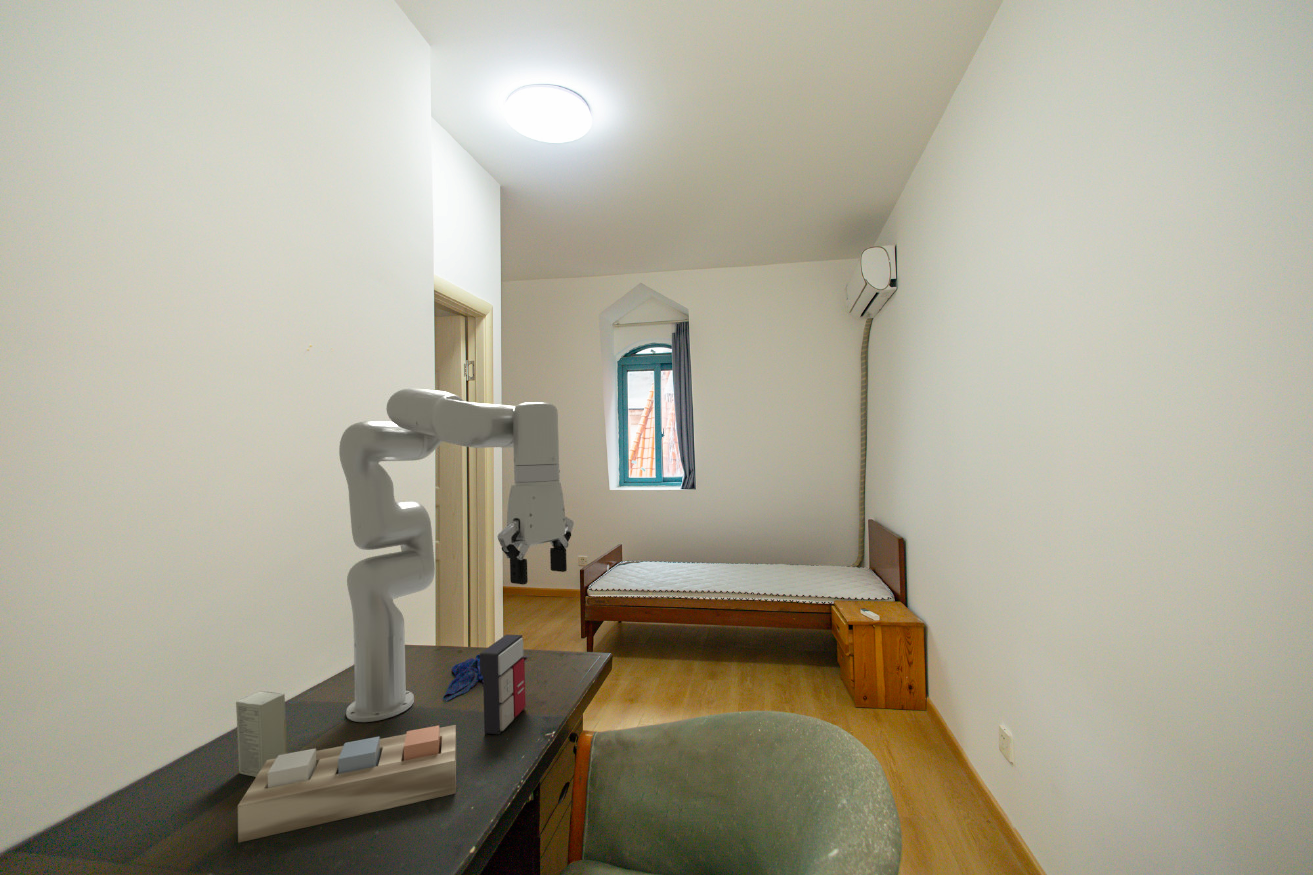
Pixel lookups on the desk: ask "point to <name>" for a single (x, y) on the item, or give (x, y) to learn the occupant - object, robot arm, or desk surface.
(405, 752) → the terracotta key
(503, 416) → the robot arm
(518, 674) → the calculator
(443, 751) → the key console
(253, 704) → the skincare box
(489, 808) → the desk surface
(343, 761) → the slate key
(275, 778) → the offwhite key
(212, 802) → the desk surface
